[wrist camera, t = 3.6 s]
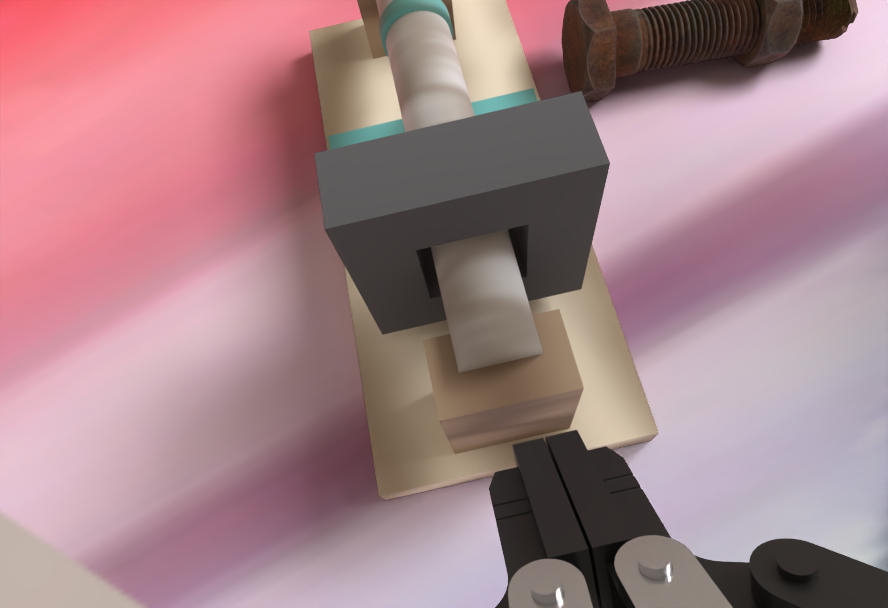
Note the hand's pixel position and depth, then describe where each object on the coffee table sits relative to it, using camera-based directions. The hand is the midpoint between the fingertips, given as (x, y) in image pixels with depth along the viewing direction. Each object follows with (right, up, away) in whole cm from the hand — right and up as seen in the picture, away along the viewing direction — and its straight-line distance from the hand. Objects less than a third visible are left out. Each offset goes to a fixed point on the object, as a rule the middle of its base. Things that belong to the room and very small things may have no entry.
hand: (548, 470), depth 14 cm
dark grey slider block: (-1, +5, +14) cm, 15 cm away
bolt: (+12, +18, +22) cm, 31 cm away
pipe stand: (-2, +9, +19) cm, 21 cm away
